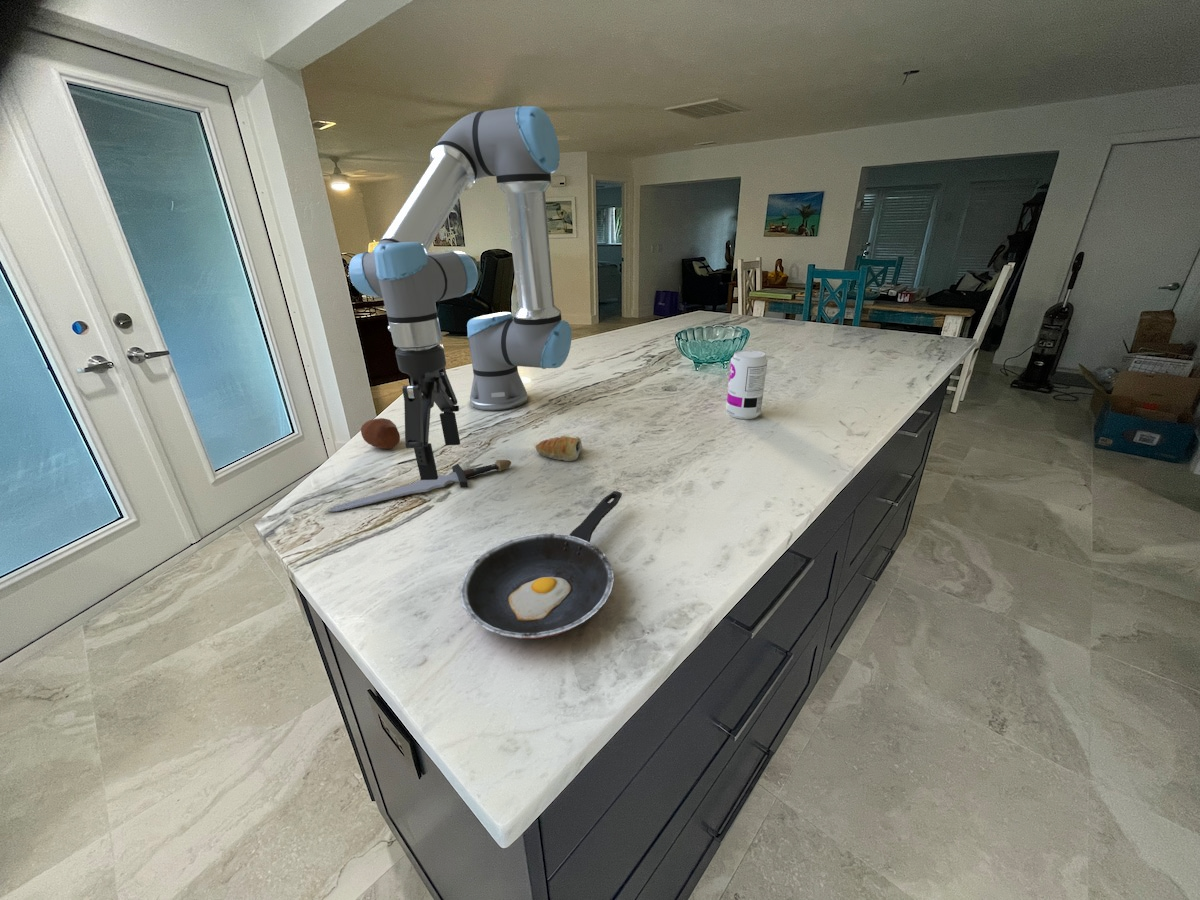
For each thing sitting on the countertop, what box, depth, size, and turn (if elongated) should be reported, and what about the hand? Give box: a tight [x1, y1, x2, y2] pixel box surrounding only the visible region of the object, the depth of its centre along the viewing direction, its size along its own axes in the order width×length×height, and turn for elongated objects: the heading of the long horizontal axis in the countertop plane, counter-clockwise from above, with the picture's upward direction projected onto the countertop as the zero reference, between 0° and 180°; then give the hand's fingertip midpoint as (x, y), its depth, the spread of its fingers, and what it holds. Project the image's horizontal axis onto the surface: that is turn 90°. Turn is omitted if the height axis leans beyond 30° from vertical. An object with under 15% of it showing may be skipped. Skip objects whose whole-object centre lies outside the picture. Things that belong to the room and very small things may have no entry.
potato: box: [360, 417, 401, 450], centre depth 102 cm, size 7×9×6 cm
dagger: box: [327, 459, 512, 513], centre depth 84 cm, size 8×32×2 cm, turn 125°
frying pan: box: [459, 490, 623, 640], centre depth 64 cm, size 19×32×4 cm, turn 152°
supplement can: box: [725, 349, 768, 420], centre depth 112 cm, size 8×8×15 cm
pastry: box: [535, 435, 583, 462], centre depth 96 cm, size 9×7×4 cm
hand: (442, 460), depth 86 cm, fingers open, 13 cm apart
